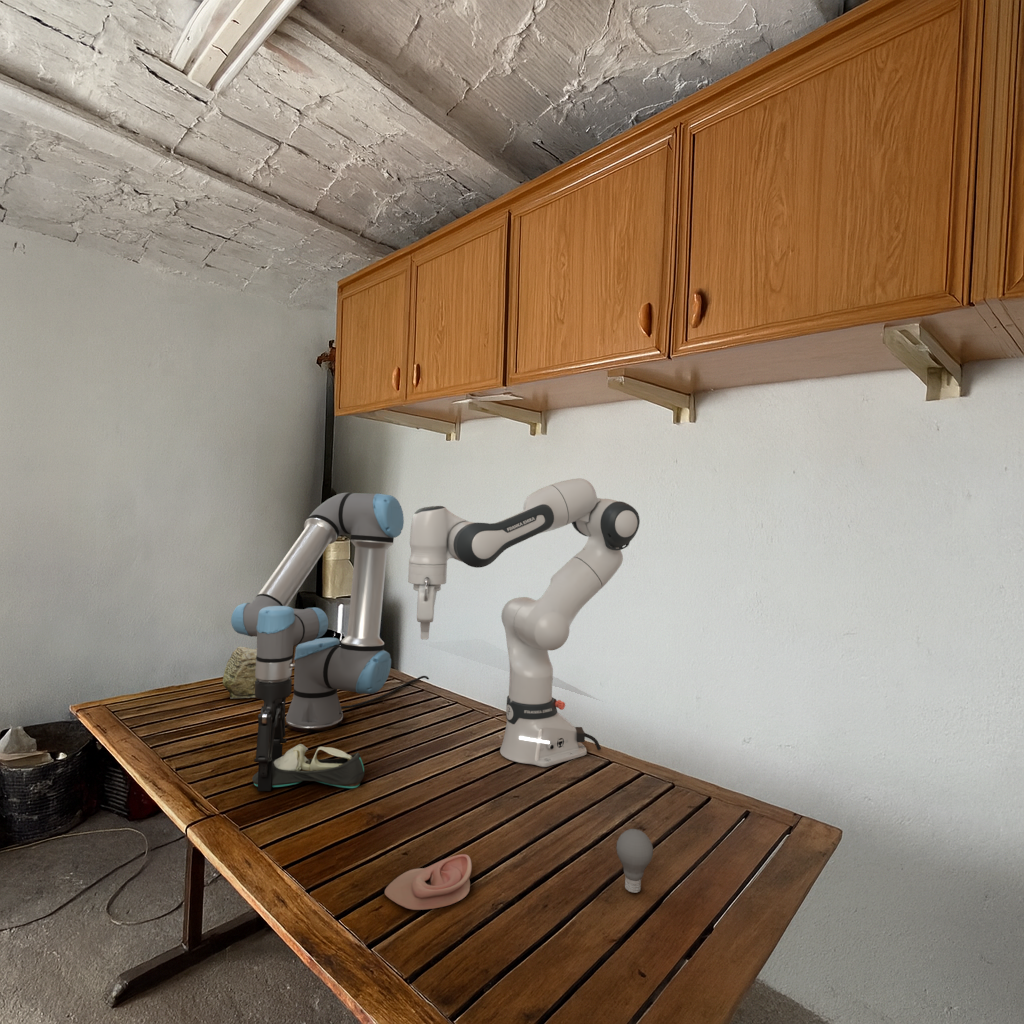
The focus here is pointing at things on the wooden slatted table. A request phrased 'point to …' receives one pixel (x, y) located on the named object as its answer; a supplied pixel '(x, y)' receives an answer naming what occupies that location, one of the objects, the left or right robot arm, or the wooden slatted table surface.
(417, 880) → the anatomical model
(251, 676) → the fossil
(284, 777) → the ballet flat
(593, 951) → the wooden slatted table surface
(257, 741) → the left robot arm
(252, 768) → the wooden slatted table surface
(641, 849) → the light bulb
